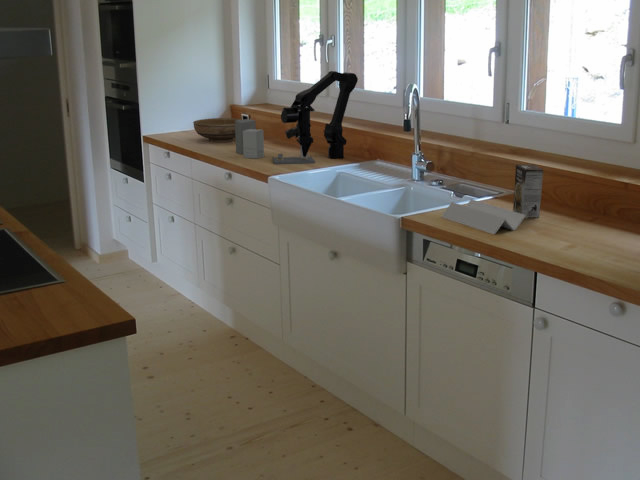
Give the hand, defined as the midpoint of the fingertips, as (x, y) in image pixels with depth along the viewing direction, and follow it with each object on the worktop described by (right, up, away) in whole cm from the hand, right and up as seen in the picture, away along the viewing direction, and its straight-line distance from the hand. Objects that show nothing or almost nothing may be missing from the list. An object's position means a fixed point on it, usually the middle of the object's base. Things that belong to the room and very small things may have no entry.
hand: (304, 156), depth 356 cm
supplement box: (-24, +1, +11) cm, 26 cm away
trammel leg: (0, -1, 0) cm, 1 cm away
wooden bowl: (-45, +14, +60) cm, 76 cm away
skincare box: (-28, +4, +22) cm, 36 cm away
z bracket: (+59, -33, -105) cm, 125 cm away
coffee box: (+76, -30, -95) cm, 125 cm away
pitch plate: (-5, -2, 0) cm, 6 cm away
